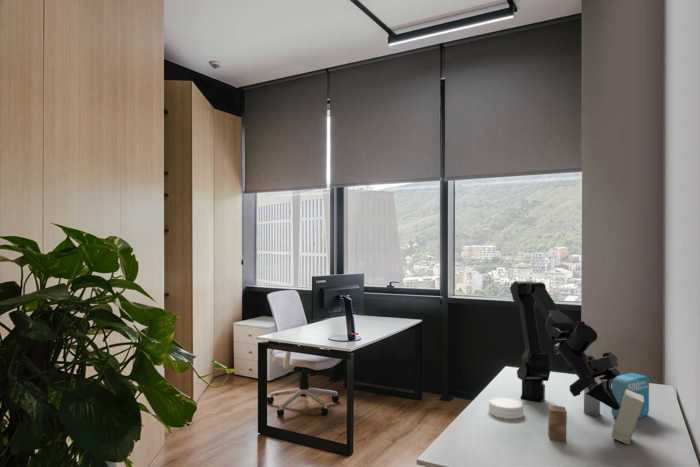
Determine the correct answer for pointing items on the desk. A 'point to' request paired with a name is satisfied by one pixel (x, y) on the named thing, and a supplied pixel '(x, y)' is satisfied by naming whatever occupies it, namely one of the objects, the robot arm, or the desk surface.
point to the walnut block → (557, 423)
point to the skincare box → (627, 416)
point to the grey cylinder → (591, 404)
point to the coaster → (506, 408)
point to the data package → (633, 384)
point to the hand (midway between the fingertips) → (618, 409)
